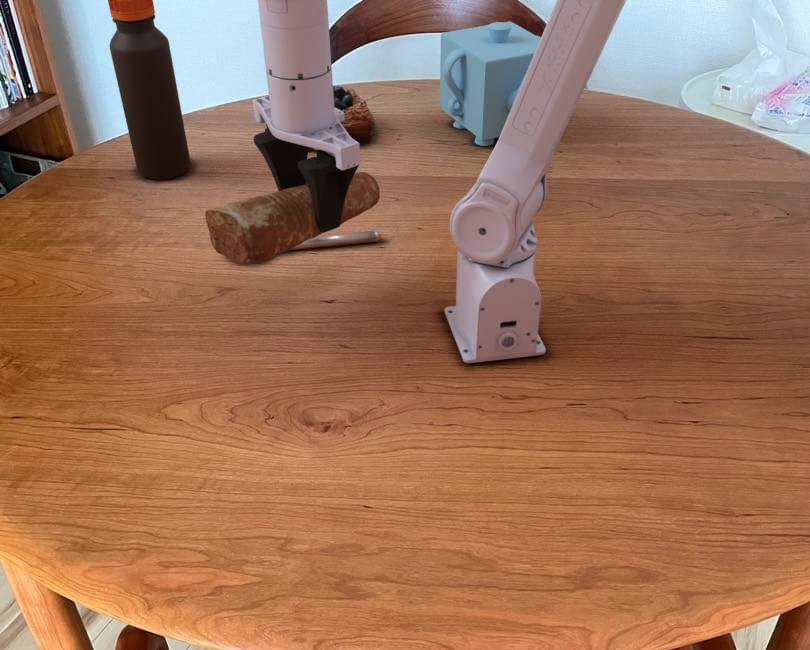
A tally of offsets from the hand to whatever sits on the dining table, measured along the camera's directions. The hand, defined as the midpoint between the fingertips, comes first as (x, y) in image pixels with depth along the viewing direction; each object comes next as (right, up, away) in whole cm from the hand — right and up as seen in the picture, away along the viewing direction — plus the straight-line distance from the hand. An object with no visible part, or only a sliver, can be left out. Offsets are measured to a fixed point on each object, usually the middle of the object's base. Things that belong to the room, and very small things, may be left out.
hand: (312, 217), depth 89 cm
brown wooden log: (-1, -1, +1) cm, 2 cm away
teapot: (+22, +23, +34) cm, 46 cm away
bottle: (-22, +16, +28) cm, 38 cm away
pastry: (-1, +24, +35) cm, 42 cm away
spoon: (-3, +1, +13) cm, 13 cm away
